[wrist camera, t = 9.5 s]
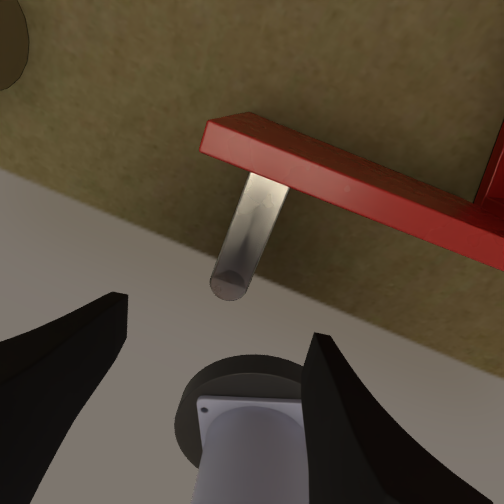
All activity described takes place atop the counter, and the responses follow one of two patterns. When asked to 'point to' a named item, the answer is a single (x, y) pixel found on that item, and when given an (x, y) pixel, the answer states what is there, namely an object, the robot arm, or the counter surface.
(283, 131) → the valve door
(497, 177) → the valve cabinet
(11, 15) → the brown pawn figure
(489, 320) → the counter surface
